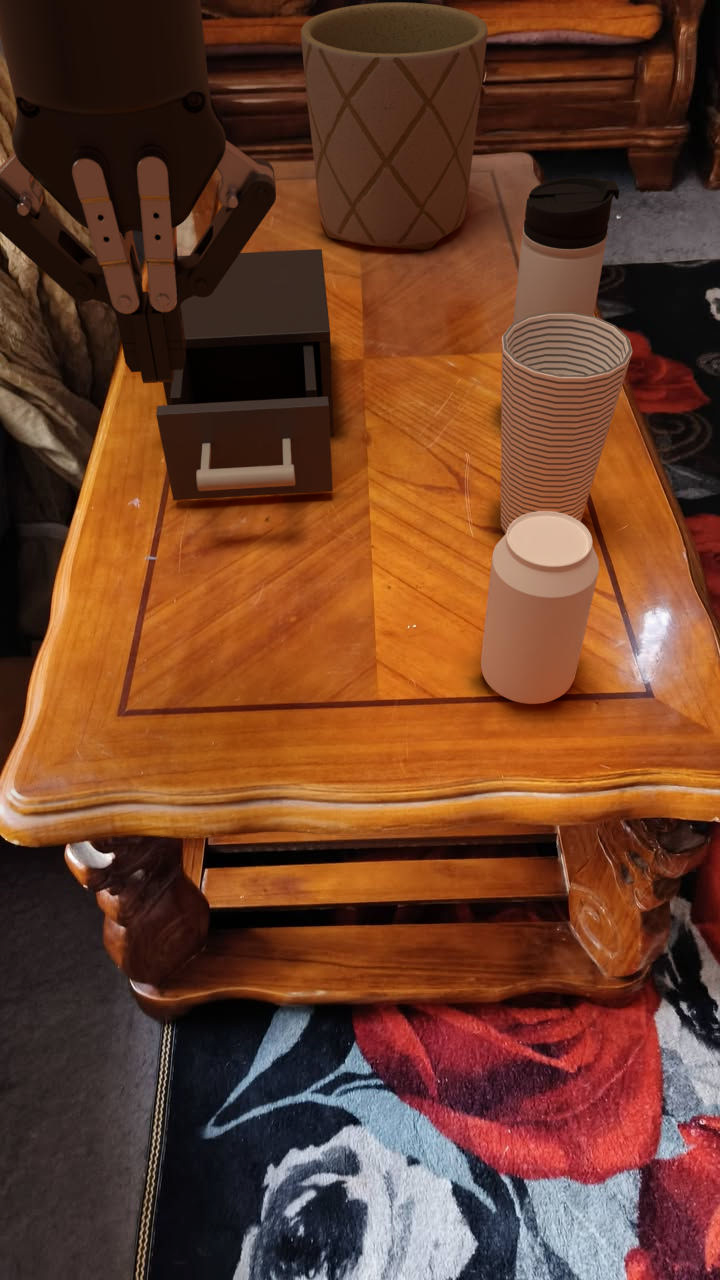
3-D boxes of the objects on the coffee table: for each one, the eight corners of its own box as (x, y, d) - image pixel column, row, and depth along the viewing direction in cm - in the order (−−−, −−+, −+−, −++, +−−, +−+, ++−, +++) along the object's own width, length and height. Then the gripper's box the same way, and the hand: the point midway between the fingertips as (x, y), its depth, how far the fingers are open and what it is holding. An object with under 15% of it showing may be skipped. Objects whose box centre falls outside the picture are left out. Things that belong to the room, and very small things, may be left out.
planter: (450, 269, 104) (461, 62, 89) (287, 247, 108) (272, 46, 94) (490, 200, 116) (506, 8, 102) (342, 182, 120) (337, -4, 106)
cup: (575, 486, 77) (608, 306, 66) (609, 555, 71) (651, 370, 60) (472, 497, 76) (488, 316, 65) (498, 568, 71) (520, 383, 59)
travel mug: (583, 441, 81) (627, 202, 67) (506, 442, 82) (532, 203, 67) (573, 401, 86) (612, 167, 71) (499, 401, 86) (523, 169, 71)
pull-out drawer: (336, 531, 72) (332, 444, 67) (169, 541, 72) (150, 454, 66) (324, 397, 85) (320, 314, 79) (182, 405, 85) (168, 322, 79)
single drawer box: (334, 435, 83) (330, 331, 76) (174, 444, 82) (154, 340, 75) (326, 347, 93) (321, 248, 86) (183, 355, 92) (167, 256, 85)
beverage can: (575, 716, 61) (607, 577, 52) (477, 707, 62) (493, 569, 53) (572, 645, 65) (601, 506, 56) (481, 638, 66) (496, 500, 57)
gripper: (-130, -31, 31) (9, 424, 44) (276, -39, 32) (299, 410, 44) (-79, -77, 36) (32, 342, 49) (270, -83, 37) (292, 330, 50)
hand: (160, 373), depth 47 cm, fingers closed
